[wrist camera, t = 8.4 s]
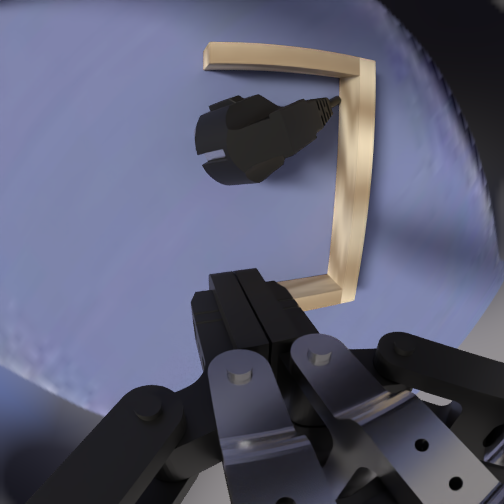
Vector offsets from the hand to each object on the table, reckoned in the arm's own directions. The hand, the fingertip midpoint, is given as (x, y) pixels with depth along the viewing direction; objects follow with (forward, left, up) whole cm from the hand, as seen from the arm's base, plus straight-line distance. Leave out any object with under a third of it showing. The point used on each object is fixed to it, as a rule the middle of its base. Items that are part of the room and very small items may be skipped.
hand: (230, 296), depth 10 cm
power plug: (-5, +6, -15) cm, 17 cm away
